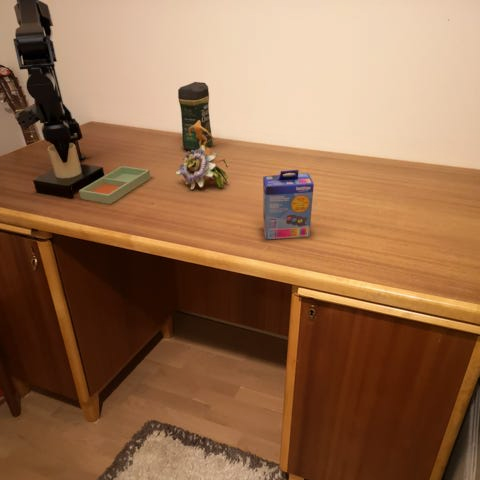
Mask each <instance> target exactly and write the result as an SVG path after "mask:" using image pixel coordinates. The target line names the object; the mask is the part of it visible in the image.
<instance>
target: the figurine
mask: <svg viewBox="0 0 480 480" xmlns="http://www.w3.org/2000/svg"><path fill="white" fill-rule="evenodd" d="M193 128H194V130H195V132H196V133H197V134H196V137H197V138H198V139H199V140H200V141H199V145H200V146H201V141H202V139H203V140H204V141H205V142H204V143H203V144H204V146H205V144H206V141H207V138H206V137H205V136H204V134H202V130H203V131H205V132H207V133H208V135H210V136H211V137H212V141H213V140H214V139H215V138H214V136H213V135H211V134H212V133H211V134H210V133H209V132H208V131H207V130H206V129H204V128H203V127H202V126H201V121H200V120H198V121H197V123H196V124H194V125H193V126H191V127H189V136H190V135H191V133H190V129H193ZM204 154H205V155H209V154H213V151H212V149H211V148H210V147H206V146H205V153H204Z"/></svg>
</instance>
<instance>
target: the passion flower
mask: <svg viewBox="0 0 480 480" xmlns="http://www.w3.org/2000/svg"><path fill="white" fill-rule="evenodd" d="M204 153H205V146H204V145H201V146H200V148H199V149H198V150H197V149H196V150H194V151H193V150H192V151H188V150H187V154H186V155H185V156H184V158H182V161H183V163H180V165H179V169H177V170H176V171H175V175H178V176H181V175H182V177H184V179H185V181H184V182H185V184H184V185H185V186H188V185H189V186H190V191H193V190H195V189H196V187H197V186H198V187H199V188H203V187H204V186H205V184H206V177H207V178H209V180H212V177H213V178H214V181H215V182H216V185H217V187H218V188H220V189H223V188H224V181H225V183H226V184H228V176H227V173H226V172H225V170H224V169H222V168H221V167H219V166H218V165H217V163H219V162H223V163H224V164H225V167H226V168H229V164H228V162H227V161H226V159H225V158H222V159H220V160H218V161H216V162H212V161H213V160H215V159H216V158H217V153H216V152H212V154H209V155H205V154H204Z"/></svg>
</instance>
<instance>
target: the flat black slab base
mask: <svg viewBox="0 0 480 480" xmlns="http://www.w3.org/2000/svg"><path fill="white" fill-rule="evenodd" d="M80 166H81V170H82V172H81V174H79V175H77V176H74V177H70V178H58V177H56V176H55V174H54V171H53V169H52V170H49V171H48V172H46V173H43V174H42V175H40V176H38V177H36V178H33V179H32V183H33V185H34V188H35V191H36V194H42V195H48V196H53V197H59V198H63V199H70V200H72V199H74V198H75V196H74V192H73V188H72V187H74V186H76V185H77V184H79V183H81V182H82V181H85V180H86V179H90V180H95V181H96V180H98V179H100V178H102V177H103V176H105V175H106V174H105V171H104V167H103V166H98V165H92V164H86V163H85V164H84V163H80Z"/></svg>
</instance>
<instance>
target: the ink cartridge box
mask: <svg viewBox="0 0 480 480" xmlns="http://www.w3.org/2000/svg"><path fill="white" fill-rule="evenodd" d="M299 171H300V170H299V169H291V170H290V169H289V170H280V173H279V174H274V175H266V176H262V189H263V190H262V192H263V193H262V195H263V197H262V198H263V200H262V201H263V203H262V206H263V208H262V211H263V214H262V216H263V234H264V239H265V240H266V241H267V240H282V239H297V238H309V237H310V236H311V222H312V211H313V210H312V207H313V197H314V188H315V187H314V185H315V183H314V181H313V179H312V177H311V175H310V173H307V172H305V173H299Z"/></svg>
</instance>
